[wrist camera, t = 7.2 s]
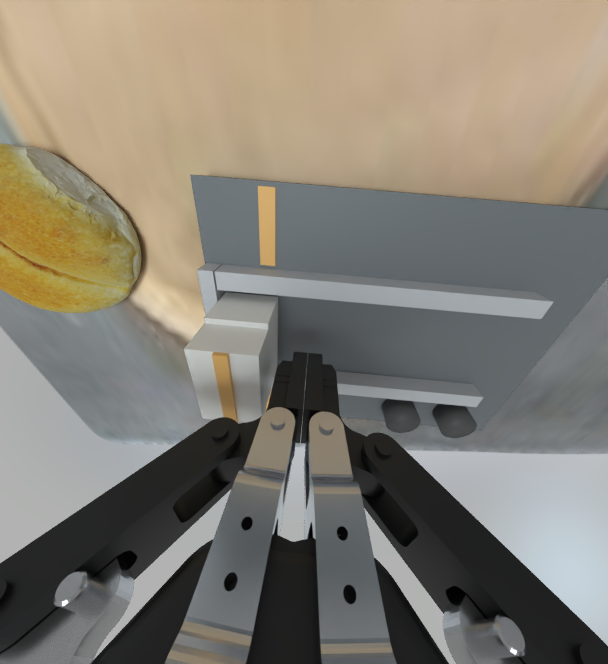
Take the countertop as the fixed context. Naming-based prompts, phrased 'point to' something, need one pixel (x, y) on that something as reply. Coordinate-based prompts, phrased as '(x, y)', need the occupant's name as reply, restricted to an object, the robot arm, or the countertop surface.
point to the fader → (235, 357)
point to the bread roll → (61, 236)
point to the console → (404, 288)
